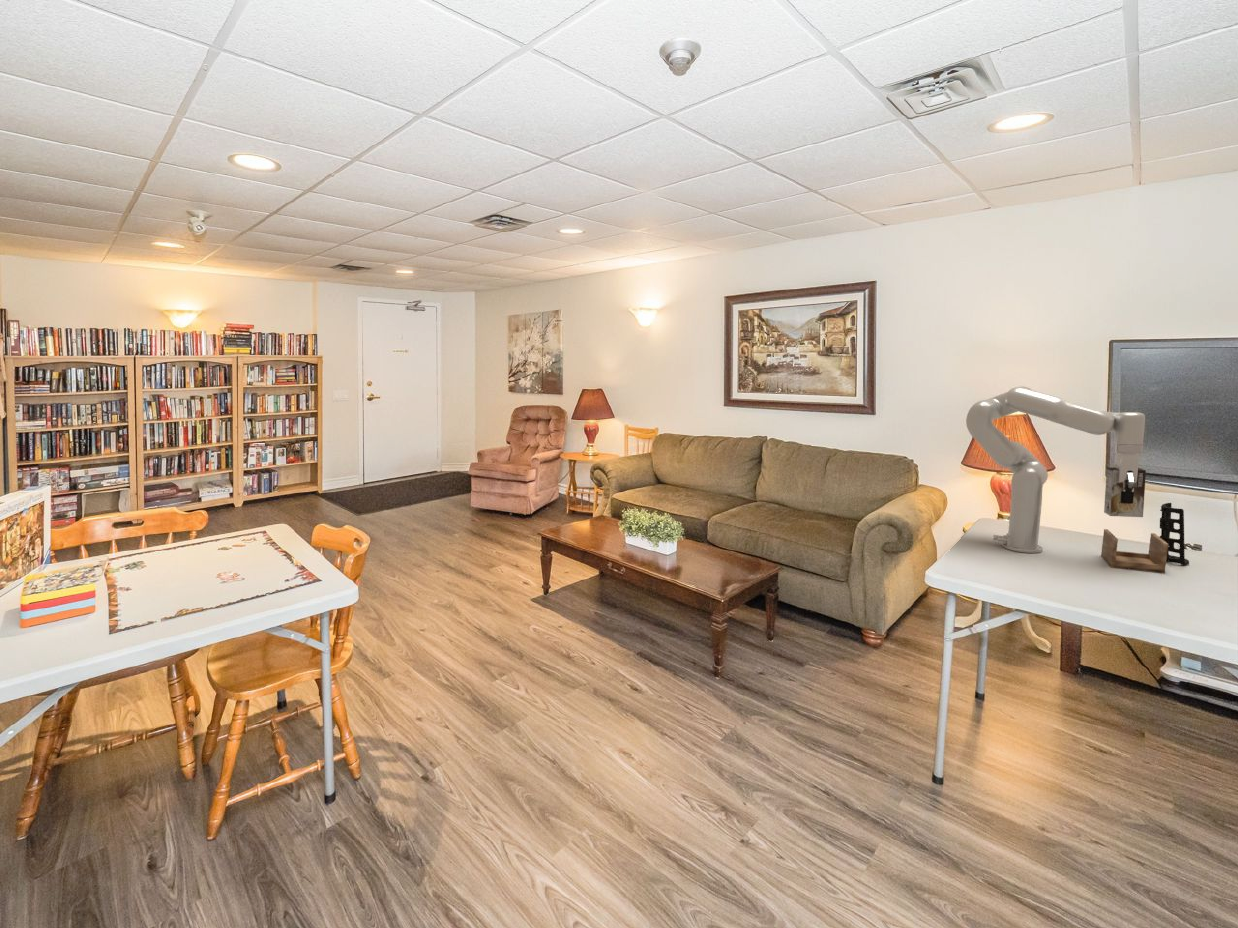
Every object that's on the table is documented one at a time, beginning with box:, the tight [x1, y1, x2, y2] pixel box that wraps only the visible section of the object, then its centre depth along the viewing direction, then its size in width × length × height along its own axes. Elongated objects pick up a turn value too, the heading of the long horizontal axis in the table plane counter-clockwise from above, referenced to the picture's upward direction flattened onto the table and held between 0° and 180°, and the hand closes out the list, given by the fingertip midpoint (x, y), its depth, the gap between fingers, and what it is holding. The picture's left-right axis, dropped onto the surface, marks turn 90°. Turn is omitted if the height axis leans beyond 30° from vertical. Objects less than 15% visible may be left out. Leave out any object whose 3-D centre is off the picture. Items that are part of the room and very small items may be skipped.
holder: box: [1159, 502, 1190, 567], centre depth 209 cm, size 11×8×20 cm
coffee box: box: [1103, 466, 1147, 518], centre depth 204 cm, size 9×6×16 cm
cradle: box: [1100, 528, 1168, 574], centre depth 207 cm, size 14×14×10 cm
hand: (1123, 500), depth 205 cm, fingers closed on coffee box, 6 cm apart
